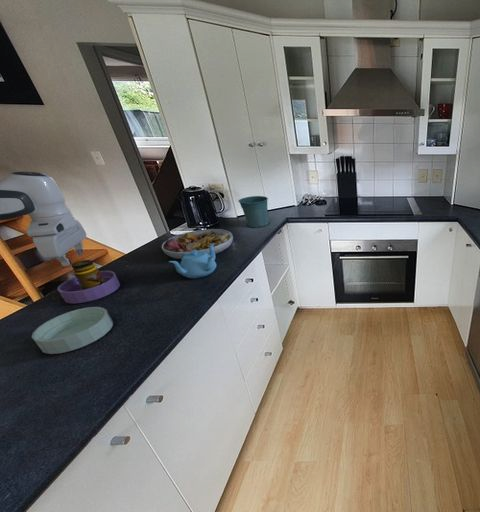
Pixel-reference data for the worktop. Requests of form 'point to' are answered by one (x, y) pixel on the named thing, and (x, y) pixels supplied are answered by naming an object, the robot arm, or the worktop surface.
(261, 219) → the flower pot
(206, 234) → the bowl
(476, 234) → the worktop surface
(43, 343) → the celadon bowl
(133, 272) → the worktop surface
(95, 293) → the lavender bowl
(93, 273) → the condiment
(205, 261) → the teapot
